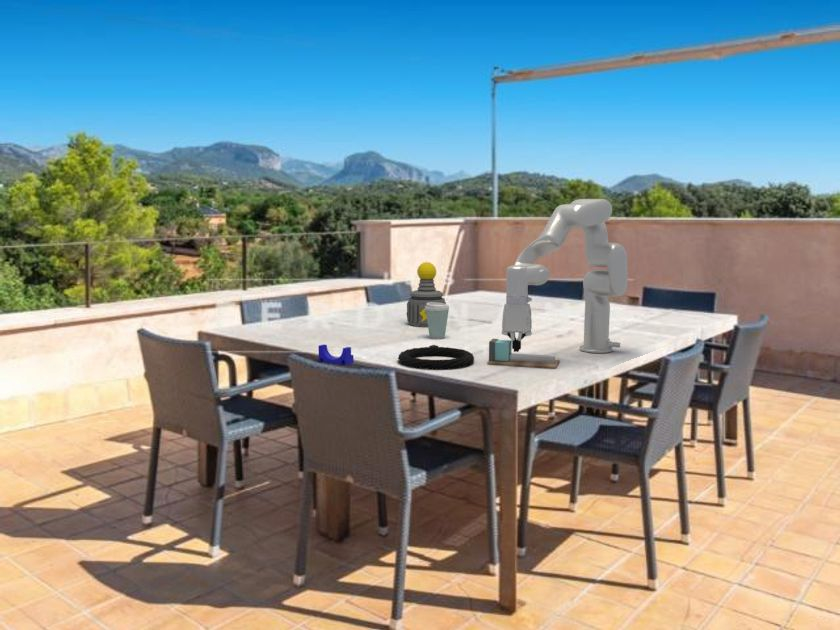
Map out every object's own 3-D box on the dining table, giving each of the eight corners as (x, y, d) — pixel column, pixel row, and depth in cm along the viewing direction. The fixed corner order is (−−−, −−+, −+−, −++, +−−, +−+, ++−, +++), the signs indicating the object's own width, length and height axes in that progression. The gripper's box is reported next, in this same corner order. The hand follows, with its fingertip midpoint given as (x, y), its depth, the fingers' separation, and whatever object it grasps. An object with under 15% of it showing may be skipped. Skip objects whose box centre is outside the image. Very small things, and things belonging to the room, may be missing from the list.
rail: (555, 362, 262) (555, 356, 262) (554, 363, 260) (554, 357, 259) (496, 358, 268) (496, 352, 268) (495, 360, 266) (495, 353, 265)
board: (559, 362, 266) (559, 360, 266) (555, 369, 255) (555, 366, 255) (493, 358, 273) (493, 356, 273) (487, 364, 262) (487, 362, 262)
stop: (498, 357, 270) (498, 338, 269) (494, 361, 263) (494, 342, 263) (492, 357, 271) (493, 338, 270) (488, 361, 264) (489, 341, 263)
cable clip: (353, 363, 264) (353, 346, 263) (346, 365, 260) (346, 348, 259) (326, 359, 270) (325, 343, 269) (318, 362, 266) (318, 345, 265)
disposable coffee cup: (451, 336, 320) (452, 302, 318) (446, 340, 310) (446, 305, 308) (428, 335, 323) (428, 301, 321) (421, 339, 313) (421, 304, 311)
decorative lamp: (404, 327, 346) (404, 263, 342) (409, 321, 364) (409, 260, 360) (444, 328, 344) (445, 263, 339) (447, 322, 362) (448, 261, 358)
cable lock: (397, 360, 252) (397, 344, 281) (397, 371, 252) (397, 354, 282) (478, 360, 252) (469, 344, 282) (478, 371, 253) (469, 354, 283)
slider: (511, 358, 268) (511, 340, 267) (508, 361, 262) (508, 343, 262) (497, 357, 270) (498, 339, 269) (494, 360, 264) (494, 342, 263)
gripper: (539, 299, 263) (538, 350, 266) (497, 298, 267) (497, 348, 270) (536, 302, 256) (536, 354, 259) (494, 301, 260) (494, 352, 263)
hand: (516, 351), depth 264 cm, fingers closed
